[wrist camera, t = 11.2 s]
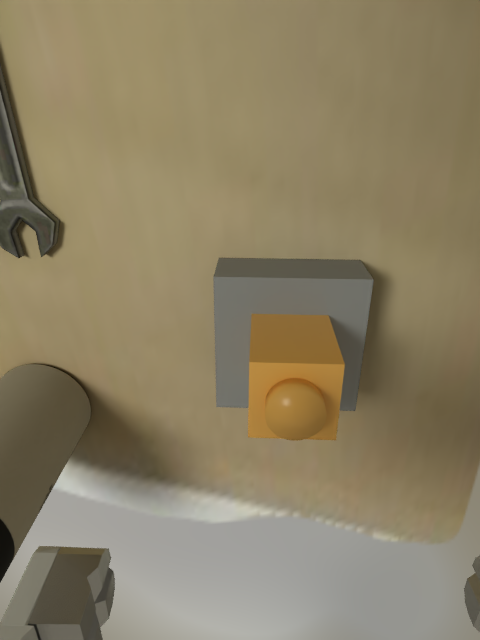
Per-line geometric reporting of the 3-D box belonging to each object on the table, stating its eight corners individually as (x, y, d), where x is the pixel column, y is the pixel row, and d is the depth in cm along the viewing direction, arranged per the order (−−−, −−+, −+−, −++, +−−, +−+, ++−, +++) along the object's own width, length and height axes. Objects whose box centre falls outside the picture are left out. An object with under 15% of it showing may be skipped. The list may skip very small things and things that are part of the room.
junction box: (221, 376, 36) (210, 449, 28) (218, 257, 32) (205, 304, 24) (345, 380, 35) (369, 454, 28) (360, 260, 31) (392, 308, 24)
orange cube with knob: (250, 378, 31) (247, 451, 24) (251, 313, 29) (248, 374, 22) (322, 380, 31) (339, 454, 24) (328, 315, 29) (349, 377, 22)
